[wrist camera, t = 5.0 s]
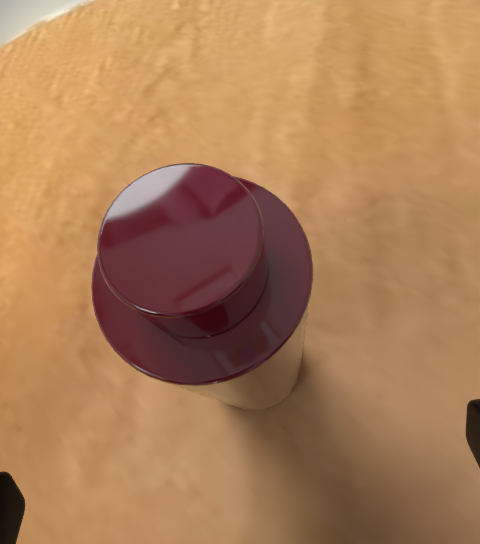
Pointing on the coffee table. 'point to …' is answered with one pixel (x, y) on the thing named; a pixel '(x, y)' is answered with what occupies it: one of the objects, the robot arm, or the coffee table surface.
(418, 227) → the coffee table surface
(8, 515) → the robot arm
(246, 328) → the bottle
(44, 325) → the coffee table surface
